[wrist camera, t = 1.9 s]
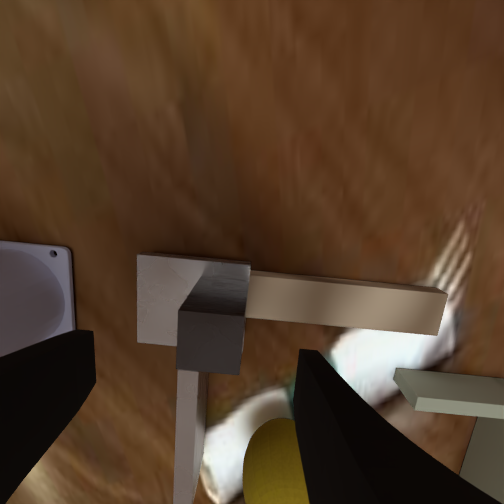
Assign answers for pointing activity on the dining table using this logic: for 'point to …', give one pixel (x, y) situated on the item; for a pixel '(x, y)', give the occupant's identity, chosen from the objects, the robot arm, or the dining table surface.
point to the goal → (472, 404)
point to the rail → (345, 302)
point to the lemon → (274, 466)
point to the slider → (193, 339)
